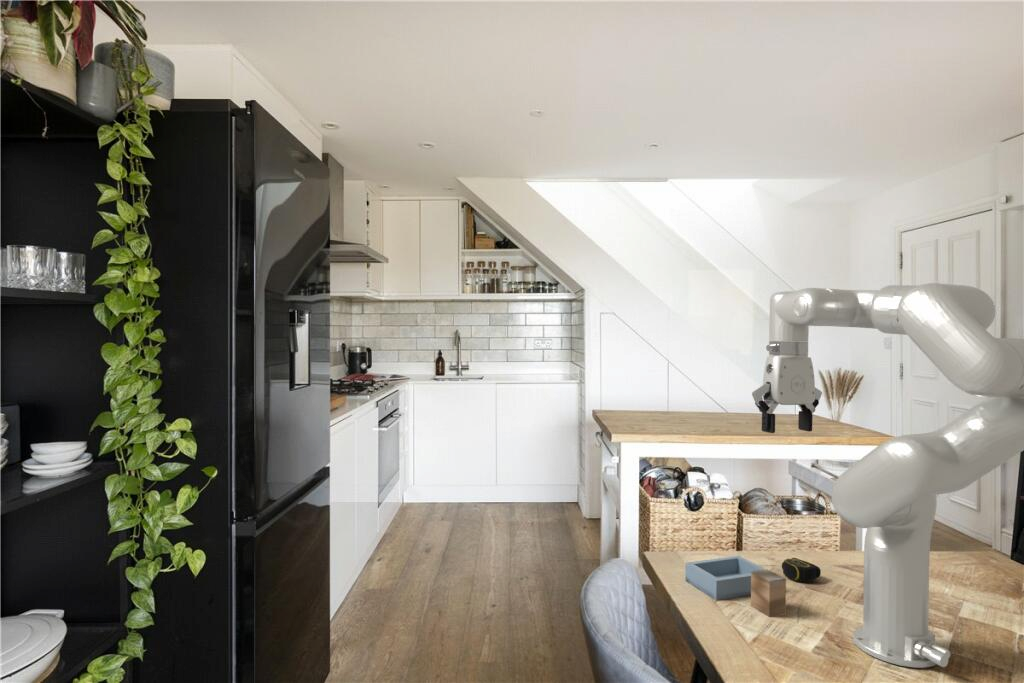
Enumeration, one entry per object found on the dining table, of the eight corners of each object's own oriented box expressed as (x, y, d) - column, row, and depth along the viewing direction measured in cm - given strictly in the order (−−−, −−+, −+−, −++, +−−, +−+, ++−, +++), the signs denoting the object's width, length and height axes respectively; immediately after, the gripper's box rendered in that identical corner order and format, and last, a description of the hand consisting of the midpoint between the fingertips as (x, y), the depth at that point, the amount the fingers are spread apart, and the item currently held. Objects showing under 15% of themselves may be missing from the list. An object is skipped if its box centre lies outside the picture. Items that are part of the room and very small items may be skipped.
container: (772, 591, 126) (772, 572, 126) (716, 600, 121) (716, 580, 121) (738, 573, 136) (738, 555, 136) (685, 580, 131) (685, 562, 131)
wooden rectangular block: (785, 614, 115) (785, 578, 115) (769, 617, 114) (769, 581, 114) (766, 603, 120) (767, 569, 120) (750, 606, 119) (751, 571, 119)
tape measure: (822, 581, 132) (822, 565, 132) (802, 587, 129) (802, 570, 129) (795, 571, 138) (795, 555, 138) (775, 576, 135) (775, 559, 135)
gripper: (767, 350, 118) (766, 435, 118) (835, 351, 123) (833, 432, 123) (742, 349, 125) (740, 430, 125) (806, 350, 130) (805, 427, 131)
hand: (786, 431), depth 124 cm, fingers open, 9 cm apart
